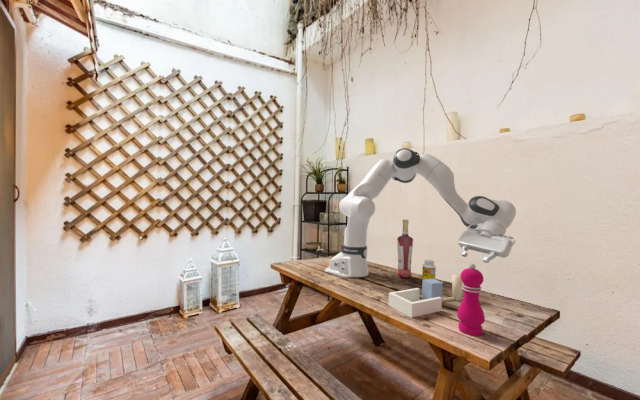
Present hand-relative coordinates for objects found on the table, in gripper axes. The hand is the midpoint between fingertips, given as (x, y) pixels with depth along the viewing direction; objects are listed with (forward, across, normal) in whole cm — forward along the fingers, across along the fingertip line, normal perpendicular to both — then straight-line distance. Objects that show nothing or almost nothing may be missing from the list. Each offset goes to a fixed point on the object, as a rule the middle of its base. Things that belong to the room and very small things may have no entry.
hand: (473, 258), depth 115 cm
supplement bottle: (+14, +18, -8) cm, 25 cm away
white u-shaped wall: (+33, -1, +13) cm, 35 cm away
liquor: (+17, +30, -6) cm, 35 cm away
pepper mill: (+31, -20, +12) cm, 39 cm away
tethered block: (+22, 0, +1) cm, 22 cm away
